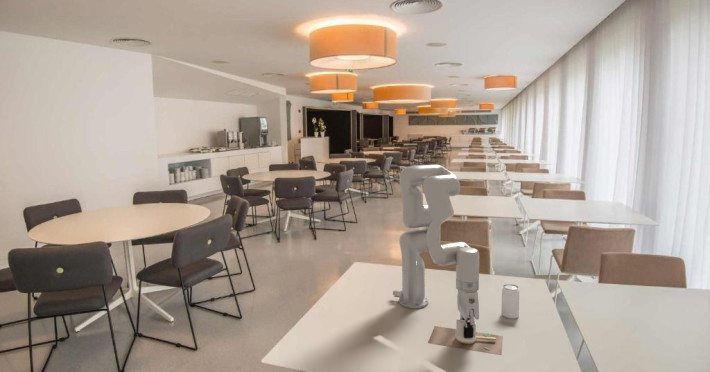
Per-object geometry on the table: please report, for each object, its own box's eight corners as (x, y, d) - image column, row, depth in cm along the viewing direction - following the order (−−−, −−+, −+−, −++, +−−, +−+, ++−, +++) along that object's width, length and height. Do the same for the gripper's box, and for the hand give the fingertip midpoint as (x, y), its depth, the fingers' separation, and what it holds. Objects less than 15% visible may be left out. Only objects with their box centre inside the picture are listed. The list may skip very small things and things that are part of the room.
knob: (455, 342, 144) (455, 325, 143) (455, 332, 151) (455, 316, 150) (497, 346, 142) (497, 328, 141) (494, 335, 148) (495, 319, 147)
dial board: (427, 346, 146) (427, 342, 145) (434, 329, 158) (434, 325, 157) (501, 359, 137) (501, 354, 137) (502, 340, 149) (502, 335, 149)
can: (520, 319, 164) (521, 290, 162) (502, 318, 165) (503, 289, 163) (517, 312, 170) (518, 284, 168) (500, 311, 171) (501, 283, 170)
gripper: (486, 292, 136) (485, 346, 139) (470, 275, 152) (469, 323, 155) (463, 293, 136) (463, 347, 138) (449, 276, 152) (449, 324, 155)
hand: (466, 334), depth 147 cm, fingers closed on knob, 3 cm apart
